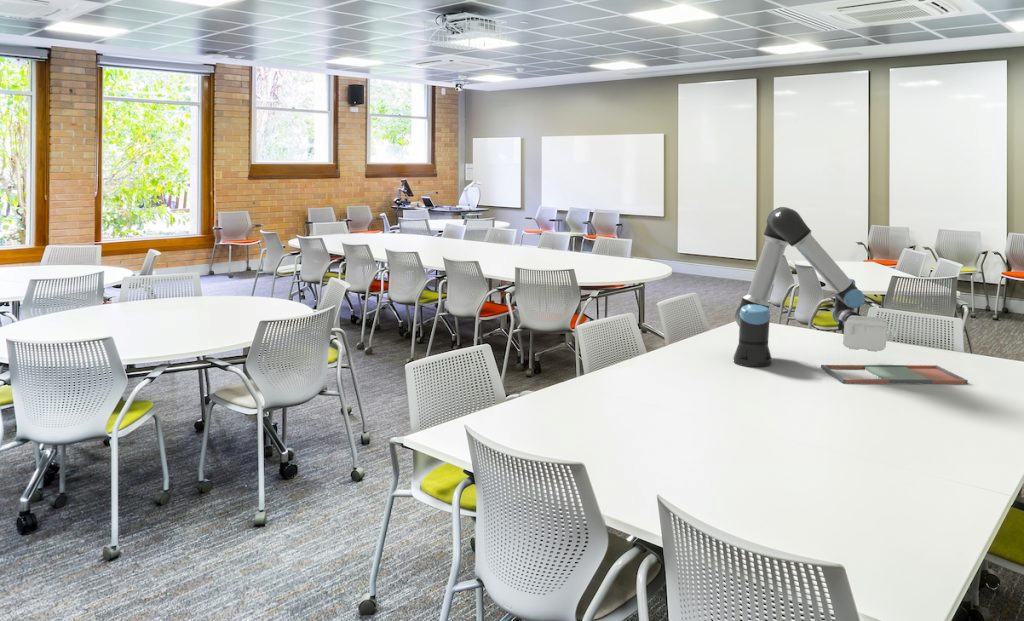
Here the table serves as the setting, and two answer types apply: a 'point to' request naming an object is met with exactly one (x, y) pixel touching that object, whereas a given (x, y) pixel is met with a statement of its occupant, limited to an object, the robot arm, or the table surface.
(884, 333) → the cable organizer
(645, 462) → the table surface
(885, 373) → the divided tray
